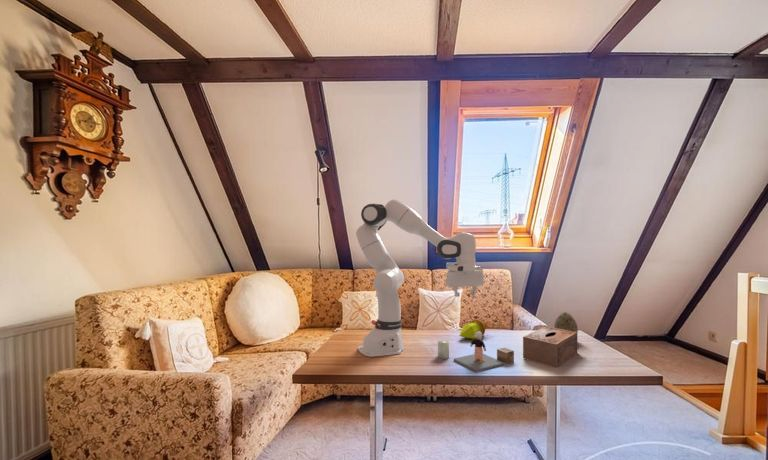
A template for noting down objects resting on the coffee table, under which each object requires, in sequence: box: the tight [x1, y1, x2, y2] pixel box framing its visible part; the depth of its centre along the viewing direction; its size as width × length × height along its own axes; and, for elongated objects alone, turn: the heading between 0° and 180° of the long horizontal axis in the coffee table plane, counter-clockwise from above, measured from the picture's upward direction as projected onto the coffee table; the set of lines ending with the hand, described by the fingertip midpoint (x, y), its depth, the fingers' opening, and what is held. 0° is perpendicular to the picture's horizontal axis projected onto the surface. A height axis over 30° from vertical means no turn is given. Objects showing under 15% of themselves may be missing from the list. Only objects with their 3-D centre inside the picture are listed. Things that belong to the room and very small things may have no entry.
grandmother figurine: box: [470, 331, 487, 363], centre depth 150 cm, size 8×4×13 cm, turn 55°
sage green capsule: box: [437, 339, 450, 360], centre depth 157 cm, size 5×5×7 cm
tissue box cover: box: [522, 325, 578, 368], centre depth 159 cm, size 26×14×10 cm, turn 133°
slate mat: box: [453, 353, 505, 373], centre depth 150 cm, size 16×14×1 cm
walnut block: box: [496, 347, 515, 365], centre depth 152 cm, size 5×5×5 cm
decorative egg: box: [553, 311, 579, 334], centre depth 180 cm, size 11×11×15 cm
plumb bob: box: [459, 319, 493, 340], centre depth 187 cm, size 9×9×25 cm
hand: (464, 295), depth 163 cm, fingers open, 8 cm apart
